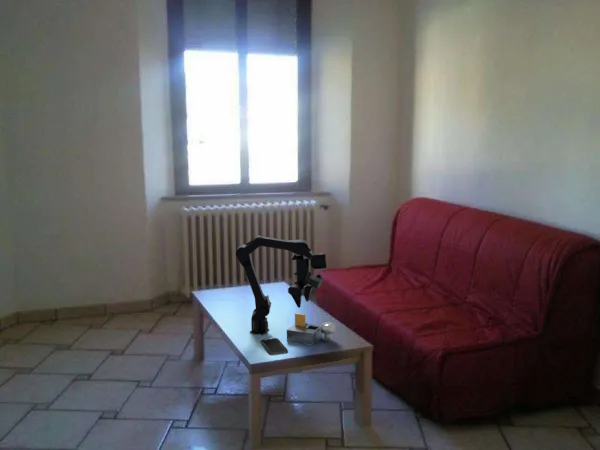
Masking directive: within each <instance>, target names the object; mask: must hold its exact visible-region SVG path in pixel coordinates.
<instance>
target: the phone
mask: <svg viewBox="0 0 600 450" xmlns="http://www.w3.org/2000/svg"><path fill="white" fill-rule="evenodd" d="M259 342H260V343H259V344H260V345H262V347H263V348H264V349H265V351H266V353H267V354H268V355H270V356H272V355H273V356H274V355H280V354H287V353H288V352H289V349H287V347H286V346H285V344H283V343H282V341H281V340H280V339H279V338H276V337H273V338H268V339H267V338H266V339H261V340H260V341H259Z"/></svg>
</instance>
